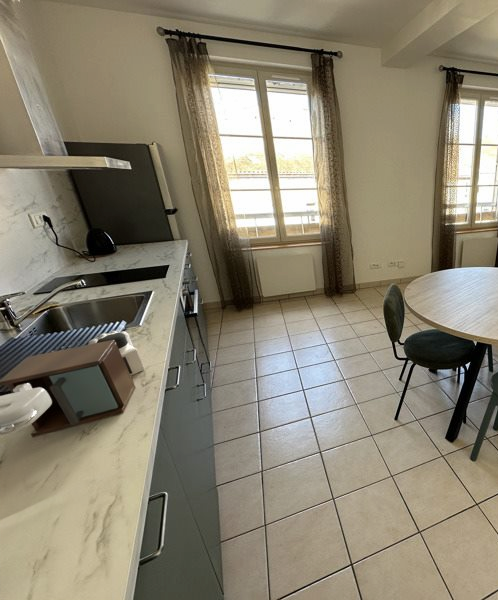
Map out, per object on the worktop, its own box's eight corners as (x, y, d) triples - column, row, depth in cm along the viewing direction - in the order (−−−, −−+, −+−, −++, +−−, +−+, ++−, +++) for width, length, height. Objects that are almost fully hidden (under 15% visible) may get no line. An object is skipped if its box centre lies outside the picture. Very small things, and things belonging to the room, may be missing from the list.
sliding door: (65, 431, 78) (39, 386, 73) (74, 417, 82) (50, 374, 77) (111, 418, 81) (89, 375, 76) (118, 406, 85) (98, 364, 80)
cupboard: (32, 437, 78) (-3, 382, 72) (55, 407, 88) (26, 357, 82) (123, 412, 85) (98, 360, 79) (135, 387, 95) (114, 339, 89)
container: (145, 369, 104) (130, 333, 98) (116, 382, 98) (98, 345, 93) (135, 363, 107) (120, 327, 102) (106, 375, 102) (88, 338, 96)
